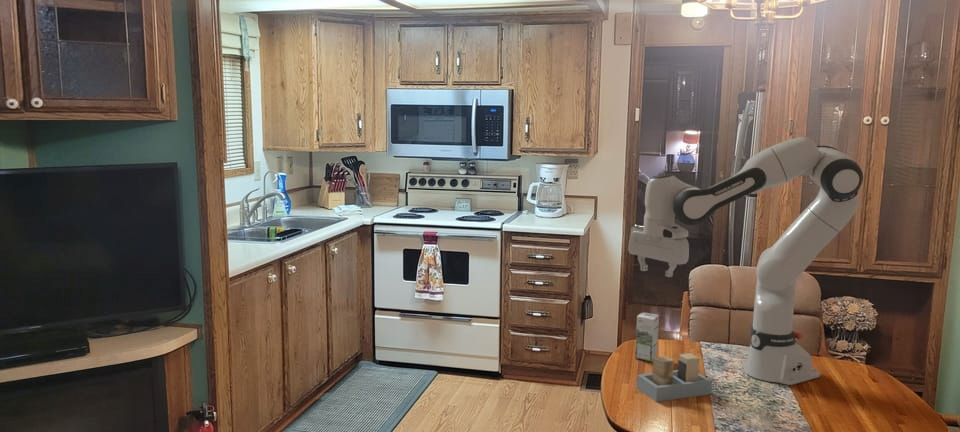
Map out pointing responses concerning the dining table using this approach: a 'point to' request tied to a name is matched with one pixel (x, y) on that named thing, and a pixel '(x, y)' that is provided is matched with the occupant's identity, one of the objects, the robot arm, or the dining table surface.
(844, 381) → the dining table surface
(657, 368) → the block
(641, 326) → the syrup box
